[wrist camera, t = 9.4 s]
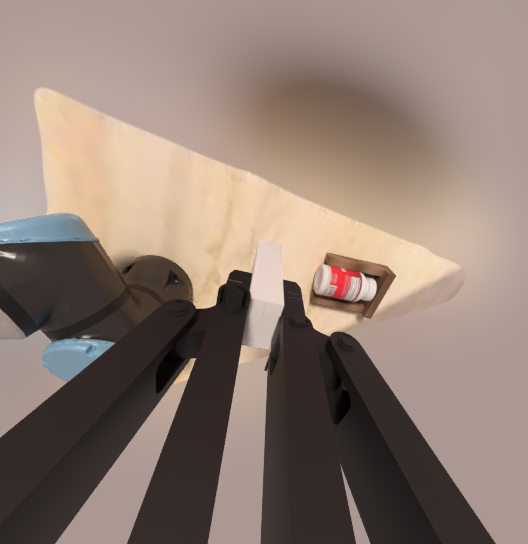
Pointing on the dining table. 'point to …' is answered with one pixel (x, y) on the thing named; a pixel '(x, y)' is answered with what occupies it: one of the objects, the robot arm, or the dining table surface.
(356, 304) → the tray
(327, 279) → the pill bottle
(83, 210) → the dining table surface
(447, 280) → the dining table surface
